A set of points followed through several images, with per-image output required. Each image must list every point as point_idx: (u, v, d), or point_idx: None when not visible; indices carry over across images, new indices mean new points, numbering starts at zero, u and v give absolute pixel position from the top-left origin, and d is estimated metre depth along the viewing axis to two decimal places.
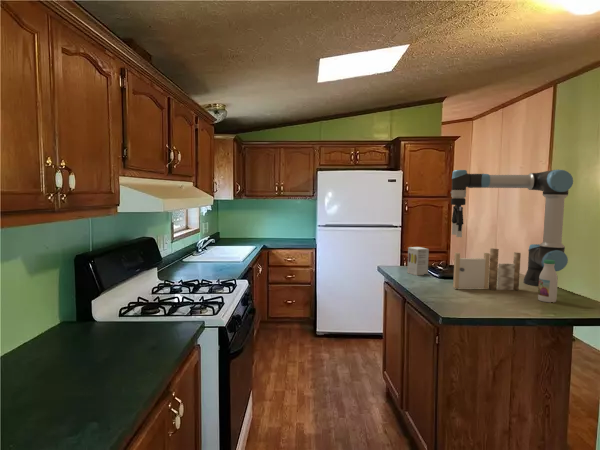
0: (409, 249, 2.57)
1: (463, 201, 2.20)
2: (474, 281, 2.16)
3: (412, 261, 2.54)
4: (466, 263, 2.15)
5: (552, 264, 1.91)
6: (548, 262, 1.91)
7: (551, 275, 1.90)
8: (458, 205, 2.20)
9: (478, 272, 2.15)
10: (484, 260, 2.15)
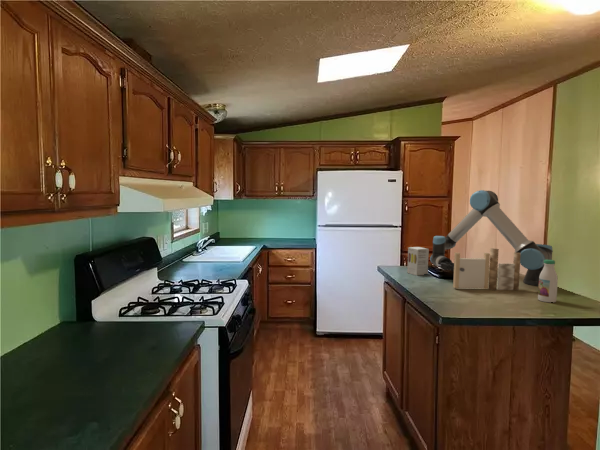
0: (409, 249, 2.57)
1: (440, 259, 2.48)
2: (474, 281, 2.16)
3: (412, 261, 2.54)
4: (466, 263, 2.15)
5: (552, 264, 1.91)
6: (548, 262, 1.91)
7: (551, 275, 1.90)
8: None
9: (478, 272, 2.15)
10: (484, 260, 2.15)
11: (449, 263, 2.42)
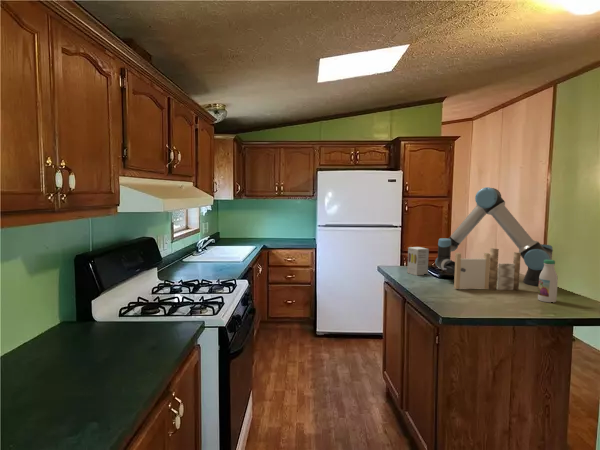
0: (409, 249, 2.57)
1: (446, 263, 2.38)
2: (475, 281, 2.15)
3: (412, 261, 2.54)
4: (467, 263, 2.14)
5: (552, 264, 1.91)
6: (548, 262, 1.91)
7: (551, 275, 1.90)
8: None
9: (479, 272, 2.15)
10: (484, 260, 2.14)
11: None
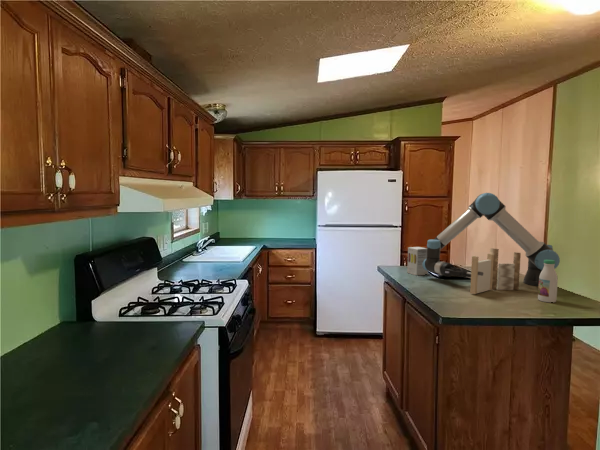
0: (409, 249, 2.57)
1: (443, 265, 2.27)
2: (485, 283, 2.09)
3: (412, 261, 2.54)
4: (481, 266, 2.06)
5: (552, 264, 1.91)
6: (548, 262, 1.91)
7: (551, 275, 1.90)
8: (444, 271, 2.25)
9: (487, 274, 2.10)
10: (490, 261, 2.12)
11: (455, 269, 2.23)
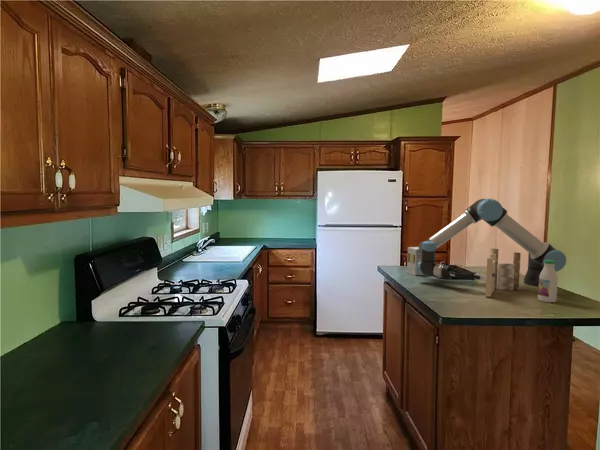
0: (408, 249, 2.57)
1: (444, 268, 2.19)
2: (492, 284, 2.07)
3: (411, 261, 2.54)
4: None
5: (552, 264, 1.91)
6: (548, 262, 1.91)
7: (551, 275, 1.90)
8: (447, 274, 2.17)
9: None
10: (494, 261, 2.10)
11: None
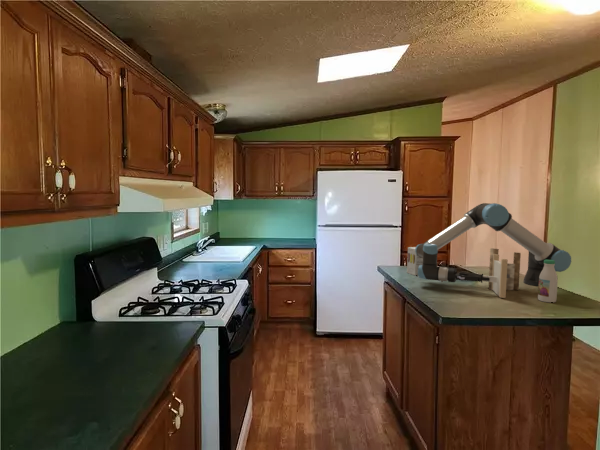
0: (408, 249, 2.57)
1: (451, 271, 2.11)
2: None
3: (411, 261, 2.54)
4: None
5: (552, 264, 1.91)
6: (548, 262, 1.91)
7: (551, 275, 1.90)
8: (455, 277, 2.09)
9: None
10: None
11: None
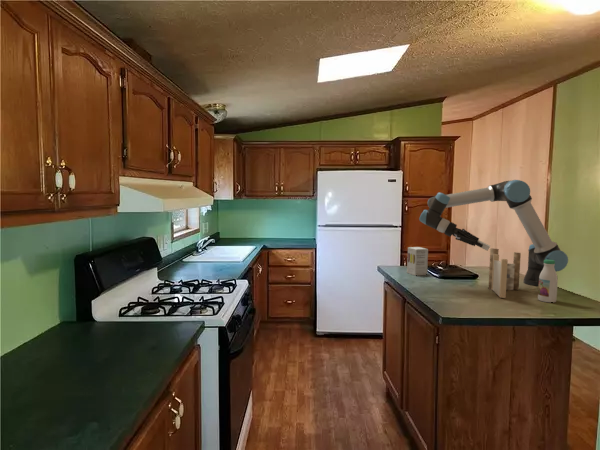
0: (408, 249, 2.57)
1: (450, 227, 2.16)
2: None
3: (411, 261, 2.54)
4: None
5: (552, 264, 1.91)
6: (548, 262, 1.91)
7: (551, 275, 1.90)
8: (452, 233, 2.16)
9: None
10: None
11: None
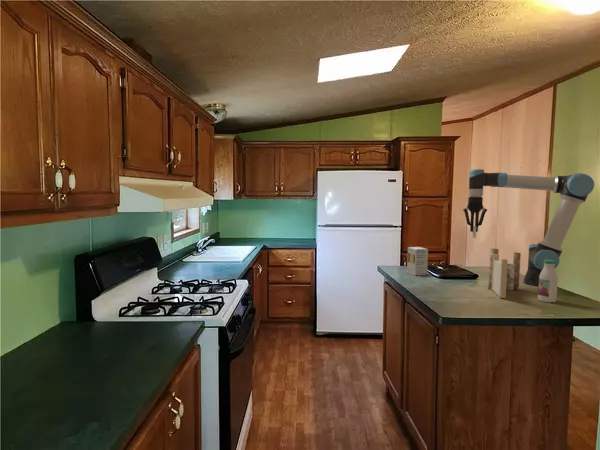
0: (408, 249, 2.57)
1: (470, 199, 2.27)
2: None
3: (411, 261, 2.54)
4: None
5: (552, 264, 1.91)
6: (548, 262, 1.91)
7: (551, 275, 1.90)
8: (468, 203, 2.30)
9: None
10: None
11: (476, 210, 2.28)
